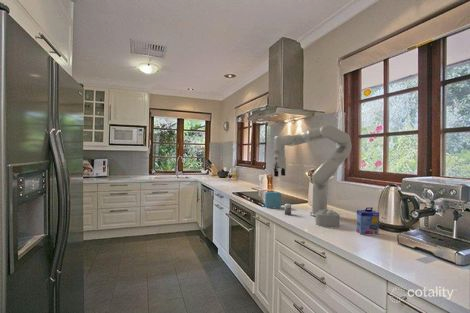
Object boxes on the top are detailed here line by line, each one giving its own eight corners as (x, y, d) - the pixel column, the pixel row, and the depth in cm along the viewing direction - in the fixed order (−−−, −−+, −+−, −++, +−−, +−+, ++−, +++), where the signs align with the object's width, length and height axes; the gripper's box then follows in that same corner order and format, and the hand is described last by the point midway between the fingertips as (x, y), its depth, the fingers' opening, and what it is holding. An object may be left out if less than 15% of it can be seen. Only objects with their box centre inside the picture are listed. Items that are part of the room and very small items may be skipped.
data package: (279, 206, 191) (279, 191, 191) (281, 207, 187) (281, 192, 187) (264, 206, 191) (265, 191, 190) (265, 208, 186) (266, 192, 186)
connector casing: (292, 214, 168) (292, 204, 168) (289, 215, 164) (289, 205, 164) (286, 213, 170) (286, 203, 170) (283, 214, 167) (283, 204, 167)
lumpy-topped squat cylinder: (341, 227, 139) (341, 212, 139) (319, 227, 138) (319, 212, 138) (333, 222, 149) (333, 208, 149) (312, 222, 149) (313, 208, 149)
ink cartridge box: (360, 235, 126) (361, 207, 126) (355, 231, 132) (356, 205, 132) (379, 235, 126) (380, 208, 126) (373, 231, 132) (373, 205, 132)
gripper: (277, 152, 167) (278, 177, 167) (289, 152, 180) (290, 175, 180) (268, 152, 172) (269, 176, 172) (281, 152, 185) (281, 174, 185)
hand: (279, 175), depth 176 cm, fingers open, 9 cm apart
